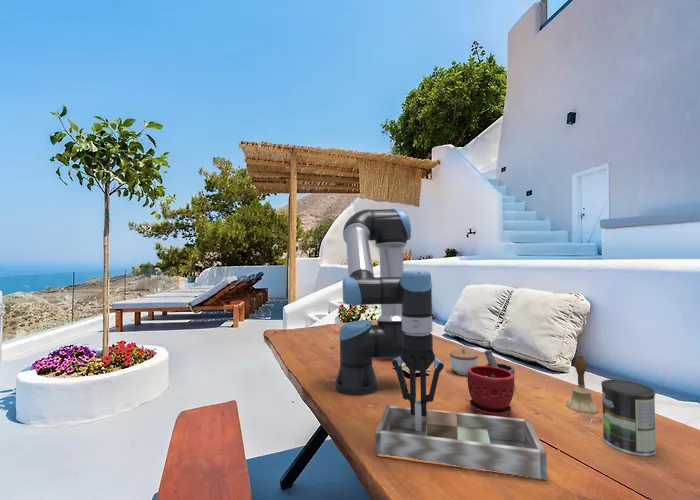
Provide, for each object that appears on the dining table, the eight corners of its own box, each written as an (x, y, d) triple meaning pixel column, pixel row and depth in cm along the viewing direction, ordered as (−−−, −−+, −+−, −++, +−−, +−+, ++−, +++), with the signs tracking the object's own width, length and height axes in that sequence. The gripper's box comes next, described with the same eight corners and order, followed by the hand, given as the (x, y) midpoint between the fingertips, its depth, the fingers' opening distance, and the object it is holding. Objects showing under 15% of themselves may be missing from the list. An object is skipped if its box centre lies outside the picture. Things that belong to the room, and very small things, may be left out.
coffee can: (610, 451, 82) (608, 391, 82) (597, 431, 91) (596, 377, 92) (665, 460, 78) (663, 397, 78) (646, 438, 87) (645, 382, 88)
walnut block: (426, 442, 82) (426, 423, 82) (428, 428, 89) (427, 410, 89) (457, 446, 80) (457, 426, 80) (456, 431, 87) (456, 413, 87)
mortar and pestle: (520, 389, 121) (520, 354, 121) (501, 393, 117) (500, 358, 117) (495, 379, 131) (494, 347, 131) (476, 383, 127) (475, 350, 127)
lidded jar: (463, 379, 131) (462, 354, 132) (444, 370, 141) (444, 347, 141) (484, 375, 136) (483, 350, 136) (464, 367, 146) (464, 344, 146)
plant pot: (512, 425, 95) (511, 381, 95) (463, 414, 102) (462, 373, 102) (517, 407, 106) (516, 368, 106) (473, 398, 113) (472, 361, 113)
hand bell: (589, 416, 100) (587, 360, 100) (560, 405, 107) (558, 353, 108) (604, 409, 104) (603, 356, 104) (575, 399, 111) (574, 349, 112)
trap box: (375, 456, 81) (375, 432, 81) (386, 425, 96) (386, 405, 96) (547, 480, 72) (546, 453, 72) (529, 441, 87) (529, 419, 87)
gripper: (388, 334, 85) (390, 432, 84) (443, 337, 81) (445, 439, 81) (393, 328, 92) (394, 418, 91) (444, 330, 88) (446, 424, 88)
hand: (418, 428), depth 86 cm, fingers closed
